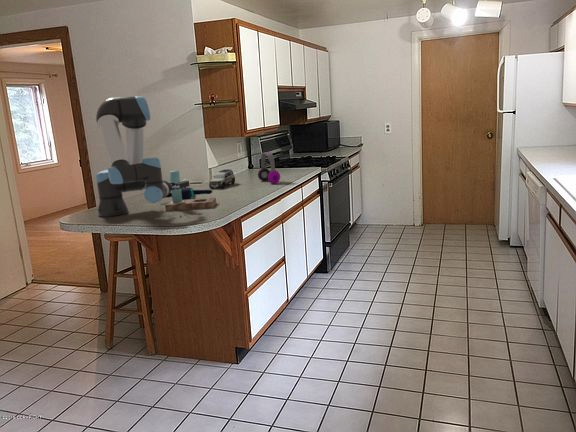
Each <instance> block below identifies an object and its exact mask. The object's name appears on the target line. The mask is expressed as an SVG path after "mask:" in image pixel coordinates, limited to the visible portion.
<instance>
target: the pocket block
mask: <svg viewBox="0 0 576 432" xmlns="http://www.w3.org/2000/svg"><path fill="white" fill-rule="evenodd" d="M216 204H217V197H207V198H206V197H205V198H193V199H189V200H182V202H179V203H173V201H172V200H170V201H168V202H167V203H166V204H165V205H164V207H165V211H166V212H171V211H185V210H198V209H200V210H201V209H213V208H214V207H215V205H216Z"/></svg>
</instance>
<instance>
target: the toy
mask: <svg viewBox="0 0 576 432" xmlns="http://www.w3.org/2000/svg"><path fill="white" fill-rule="evenodd" d="M181 193H182V200H189V199H194V196H196V195H211V194H212V193H213V190H212V189H193V188H192V187H190V186H188V187H186V188H181ZM165 198H172V192H170V194H169V195H167V196H166V197H164V198H163V199H165Z"/></svg>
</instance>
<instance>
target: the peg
mask: <svg viewBox="0 0 576 432" xmlns="http://www.w3.org/2000/svg"><path fill="white" fill-rule="evenodd" d="M168 173H169V175H168V176H169V183H172V182H173V183H177V182H181V176H180V170H169V171H168ZM171 185H172V184H171ZM171 192H172V197H171V201H173V203H179V202H182V193H181V188H180V189H178V190H177V189H176V188H175V190H171ZM171 192H170V193H171Z"/></svg>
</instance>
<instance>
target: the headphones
mask: <svg viewBox="0 0 576 432" xmlns="http://www.w3.org/2000/svg"><path fill="white" fill-rule="evenodd" d="M260 155H261V156H260V169H259V170H258V172H257V177H258V179H259V180H260V181H261V182H267V181H268V183H270V184H272V185H273V184H274V185H275V184H278V183H279V182H280V179H281V175H280V172H279V171H278V170H276V165H275V163H276V162H275V158H274V155H273V153H272V152H271V151H267V152H262V153H261V154H260ZM267 159H268V162H269V163H270V170H269V169H268V168H266V167H265V166H266V160H267Z"/></svg>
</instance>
